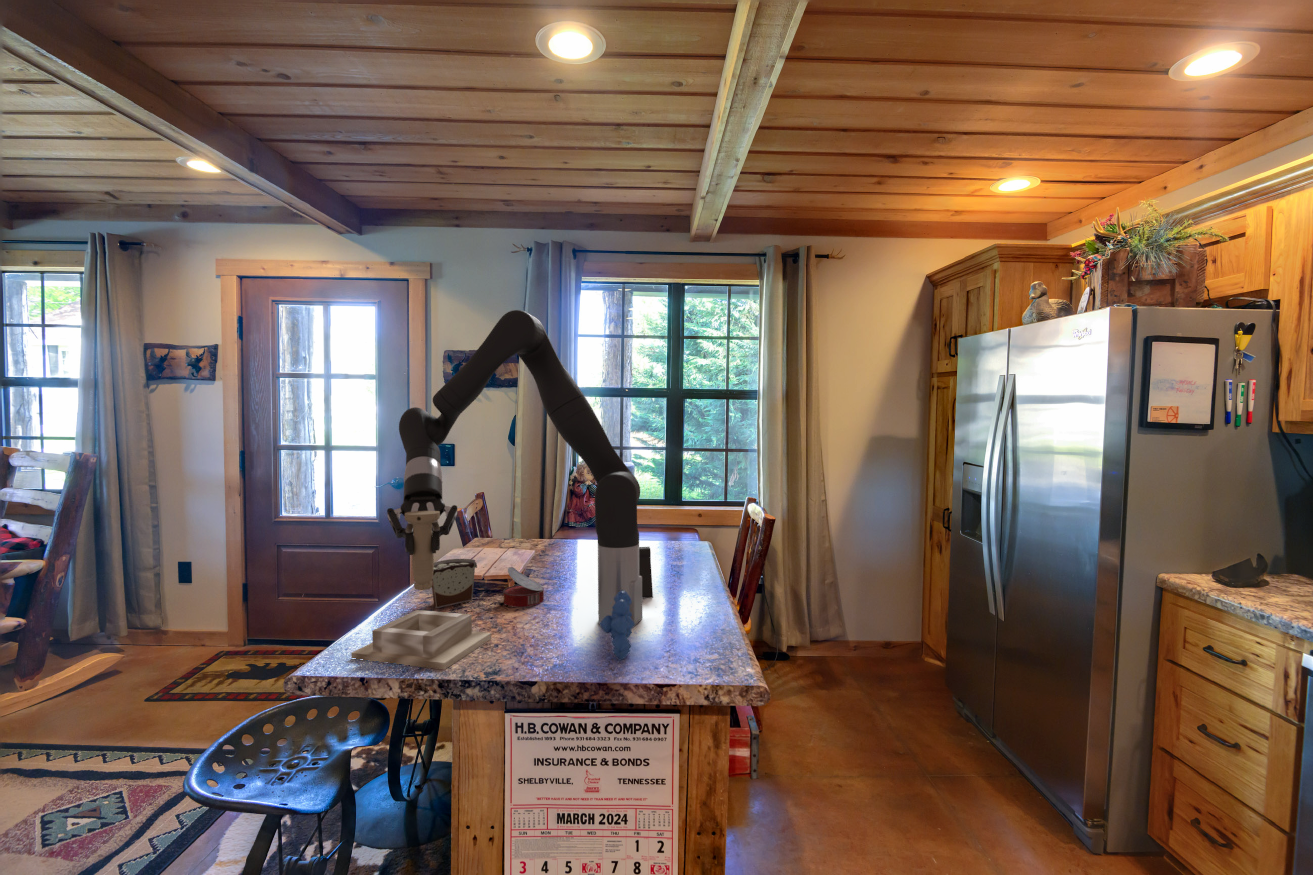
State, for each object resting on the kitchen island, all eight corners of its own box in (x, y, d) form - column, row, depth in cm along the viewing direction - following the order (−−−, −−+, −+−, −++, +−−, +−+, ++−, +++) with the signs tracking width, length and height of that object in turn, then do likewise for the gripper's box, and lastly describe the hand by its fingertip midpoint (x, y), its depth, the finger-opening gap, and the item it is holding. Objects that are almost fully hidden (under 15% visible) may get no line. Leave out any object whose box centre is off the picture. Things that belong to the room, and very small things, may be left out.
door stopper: (652, 597, 152) (652, 550, 152) (629, 599, 151) (628, 551, 151) (647, 588, 161) (647, 543, 160) (625, 589, 160) (624, 544, 159)
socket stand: (491, 638, 123) (490, 613, 123) (444, 669, 108) (444, 640, 108) (407, 630, 128) (407, 606, 128) (351, 659, 113) (350, 631, 113)
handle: (436, 591, 116) (436, 514, 115) (402, 592, 115) (401, 514, 115) (443, 584, 121) (442, 510, 120) (410, 585, 120) (409, 511, 120)
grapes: (603, 643, 120) (602, 584, 120) (636, 643, 120) (636, 584, 120) (595, 667, 108) (595, 601, 108) (633, 667, 108) (632, 601, 108)
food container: (466, 594, 156) (465, 555, 156) (477, 598, 152) (477, 559, 152) (419, 604, 147) (418, 563, 147) (430, 609, 143) (429, 567, 143)
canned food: (520, 613, 155) (530, 575, 159) (548, 616, 149) (558, 576, 153) (487, 602, 147) (499, 562, 151) (515, 605, 141) (526, 563, 145)
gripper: (385, 472, 122) (381, 543, 111) (458, 470, 127) (461, 538, 116) (387, 495, 127) (384, 565, 116) (458, 492, 132) (460, 559, 121)
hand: (422, 551), depth 116 cm, fingers closed on handle, 3 cm apart
